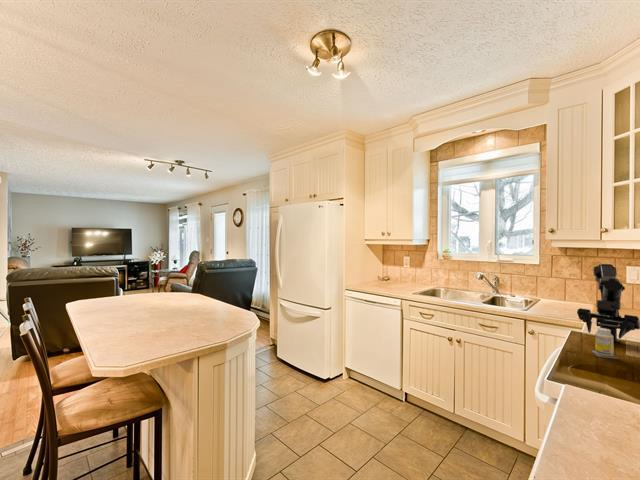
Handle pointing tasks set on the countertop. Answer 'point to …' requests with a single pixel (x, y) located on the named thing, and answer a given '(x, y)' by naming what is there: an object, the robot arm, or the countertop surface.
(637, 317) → the robot arm
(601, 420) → the countertop surface
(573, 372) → the countertop surface
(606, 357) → the slate coaster
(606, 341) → the supplement bottle
